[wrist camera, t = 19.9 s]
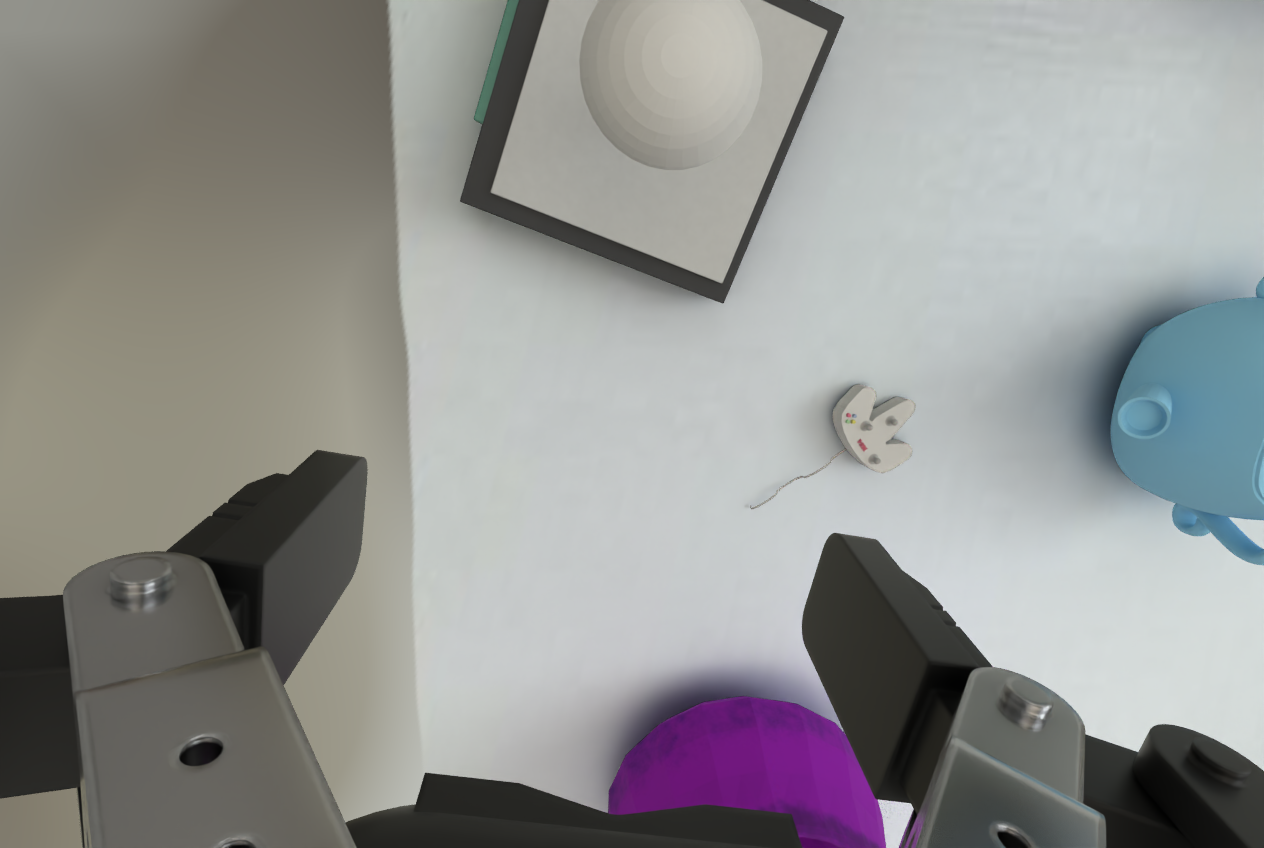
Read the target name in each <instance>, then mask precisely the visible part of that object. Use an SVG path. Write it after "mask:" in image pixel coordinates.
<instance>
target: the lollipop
mask: <svg viewBox="0 0 1264 848" xmlns="http://www.w3.org/2000/svg"><path fill="white" fill-rule="evenodd" d="M579 65H580V81H581V85H582V90H583V94H584V98H585V102H586V104H587V106H588V109H589V111H590V113H591V115H592V118H593V120H594V121H595V123H596V124H597V126H598V127H599V129H600V130H601V132H602V133H603V135H604V136H605V137H606V138H607V139H608V140H609V141H610V142H611V143H612V144H613V145H614V146H615V147H616V148H617V149H618V150H619V151H621V152H622V153H624V154H625V155H626V156H628V157H629V158H631V159H633V160H635V161H637V162H639V163H641V164H644V165H646V166H649V167H653V168H658V169H662V170H684V169H689V168H694V167H698V166H700V165H703V164H705V163H707V162H709V161H712V160H714V159H715V158H717V157H718V156H719V155H721V154H722V153H723V152H725V151H726V150H728V149H729V147H730V146H731V145H732V144H733V143H734V142H735V141H736V140H737V139H738V138H739V137H740V135H741V134H742V133H743V131H744V129H745V128H746V126H747V125H748V123H749V121H750V120H751V118H752V115H753V113H754V110H755V108H756V105H757V103H758V99H759V94H760V89H761V84H762V56H761V49H760V43H759V39H758V36H757V33H756V30H755V27H754V25H753V22H752V20H751V18H750V16H749V15H748V13H747V11H746V9H745V7H744V6H743V4H742V3H741V2H740V0H599V1H598V3H597V5H596V6H595V8H594V10H593V12H592V14H591V16H590V18H589V20H588V22H587V25H586V29H585V32H584V35H583V38H582V42H581V51H580V59H579Z"/></svg>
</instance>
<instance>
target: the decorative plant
mask: <svg viewBox="0 0 1264 848" xmlns="http://www.w3.org/2000/svg"><path fill="white" fill-rule="evenodd" d="M704 804H708V805H717V806H726V807H734V808H743V809H752V810H761V811H770V812H779V813H788V814H792V816H793V820H794V823H795V826H796V829H797V832H798V836H799V839H800V842H801V845H802V847H803V848H886V843H885V835H884V827H883V819H882V814H881V811H880V807H879V804H878V800H877V799H875V797H874V795H873V793H872V791H871V789H870V786H869V784H868V782H867V780H866V778H865V776H864V773H863V771H862V769H861V767H860V765H859V762H858V760H857V758H856V756H855V754H854V752H853V749H852V747H851V745H850V743H849V741H848V738H847V736H846V735H845V734H844V732H843V731H842V730H841V729H840V728H839V727H838V726H837V725H836V723H834V722H832V721H830V720H828V719H826V718H824V717H822V716H820V715H818V714H816V713H814V712H812V711H810V710H808V709H806V708H804V707H802V706H800V705H798V704H795V703H789V702H783V701H776V700H769V699H761V698H754V697H746V696H740V697H733V698H727V699H720V700H714V701H707V702H702V703H700V704H698V705H696V706H694V707H692V708H690V709H688V710H685V711H683V712H681V713H679V714H677V715H675V716H673V717H671V718H669V719H667V720H665V721H664V722H662V723H661V724H659V725H658V726H657V727H656V728H655V729H653V730H652V731H651V732H650V733H649V734H648V735H647V736H646V737H645V738H644V739H643V740H642V741H641V742H640V743H638V744H637V745H636V746H635V747H634V748H633V749H632V750H631V751H630V752H629V753H628V754H627V755H626V756H625V758H624V760H623V762H622V764H621V766H620V768H619V770H618V772H617V775H616V777H615V779H614V781H613V783H612V785H611V787H610V789H609V802H608V813H609V814H615V815H624V814H632V813H640V812H648V811H656V810H664V809H672V808H680V807H688V806H696V805H704Z"/></svg>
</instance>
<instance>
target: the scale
mask: <svg viewBox="0 0 1264 848" xmlns="http://www.w3.org/2000/svg"><path fill="white" fill-rule="evenodd" d="M598 1H599V0H508V2H507V5H506V9H505V12H504V16H503V19H502V23H501V26H500V30H499V33H498V37H497V40H496V43H495V47H494V50H493V54H492V57H491V61H490V64H489V68H488V71H487V75H486V78H485V81H484V85H483V88H482V92H481V95H480V99H479V102H478V106H477V109H476V113H475V116H474V120H475V121H477V122H478V123H480V124H482V128H481V131H480V135H479V138H478V141H477V145H476V148H475V152H474V155H473V158H472V162H471V165H470V169H469V172H468V176H467V179H466V182H465V186H464V189H463V193H462V196H461V199H460V201H461V202H463V203H465V204H468V205H471V206H473V207H476V208H478V209H481V210H483V211H486V212H489V213H491V214H494V215H496V216H499V217H501V218H504V219H507V220H509V221H512V222H514V223H517V224H520V225H522V226H525V227H527V228H530V229H532V230H535V231H538V232H540V233H543V234H545V235H548V236H550V237H553V238H556V239H558V240H561V241H563V242H566V243H568V244H571V245H574V246H576V247H579V248H581V249H584V250H586V251H589V252H592V253H594V254H597V255H599V256H602V257H604V258H607V259H610V260H612V261H615V262H617V263H620V264H623V265H625V266H628V267H630V268H633V269H635V270H638V271H641V272H643V273H646V274H648V275H651V276H653V277H656V278H659V279H661V280H664V281H666V282H669V283H671V284H674V285H677V286H679V287H682V288H684V289H687V290H689V291H692V292H695V293H697V294H700V295H702V296H705V297H707V298H710V299H713V300H715V301H718V302H720V303H724V301H725V299H726V296H727V294H728V292H729V289H730V287H731V285H732V282H733V280H734V277H735V275H736V273H737V270H738V268H739V266H740V263H741V261H742V258H743V256H744V254H745V251H746V249H747V247H748V244H749V242H750V239H751V237H752V235H753V232H754V230H755V228H756V225H757V223H758V221H759V218H760V216H761V213H762V211H763V209H764V206H765V204H766V202H767V199H768V197H769V194H770V192H771V190H772V187H773V185H774V183H775V180H776V178H777V175H778V173H779V171H780V168H781V166H782V164H783V161H784V159H785V156H786V154H787V152H788V149H789V147H790V145H791V142H792V140H793V138H794V135H795V133H796V130H797V128H798V126H799V123H800V121H801V119H802V116H803V114H804V111H805V109H806V107H807V104H808V102H809V100H810V97H811V95H812V92H813V90H814V88H815V85H816V83H817V81H818V78H819V76H820V73H821V71H822V69H823V66H824V64H825V62H826V59H827V57H828V55H829V52H830V50H831V47H832V45H833V43H834V40H835V38H836V36H837V33H838V31H839V28H840V26H841V24H842V21H843V19H844V17H843V16H842V15H839V14H837V13H835V12H833V11H831V10H829V9H827V8H825V7H823V6H820V5H818V4H816V3H814V2H812V1H810V0H740V2H741V3H742V4H743V6H744V7H745V9H746V11H747V13H748V15H749V16H750V18H751V20H752V22H753V25H754V27H755V30H756V33H757V36H758V39H759V43H760V49H761V56H762V84H761V89H760V94H759V99H758V103H757V105H756V108H755V110H754V113H753V115H752V118H751V120H750V121H749V123H748V125H747V126H746V128H745V129H744V131H743V133H742V134H741V135H740V137H739V138H738V139H737V140H736V141H735V142H734V143H733V144H732V145H731V146H730V147H729V149H728V150H726V151H725V152H723V153H722V154H721V155H719V156H718V157H717V158H715V159H714V160H712V161H709V162H707V163H705V164H703V165H700V166H698V167H694V168H689V169H684V170H662V169H658V168H653V167H649V166H646V165H644V164H641V163H639V162H637V161H635V160H633V159H631V158H629V157H628V156H626V155H625V154H624V153H622V152H621V151H619V150H618V149H617V148H616V147H615V146H614V145H613V144H612V143H611V142H610V141H609V140H608V139H607V138H606V137H605V136H604V135H603V133H602V132H601V130H600V129H599V127H598V126H597V124H596V123H595V121H594V120H593V118H592V115H591V113H590V111H589V109H588V106H587V104H586V102H585V98H584V94H583V90H582V85H581V81H580V65H579V59H580V51H581V42H582V38H583V35H584V32H585V29H586V25H587V22H588V20H589V18H590V16H591V14H592V12H593V10H594V8H595V6H596V5H597V3H598Z"/></svg>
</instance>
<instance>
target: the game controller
mask: <svg viewBox="0 0 1264 848" xmlns="http://www.w3.org/2000/svg"><path fill="white" fill-rule="evenodd" d="M875 400H876V392H875V390H874V389H873V388H871V387H867V386H864V385H860V384H857V385H854V386H853V387H852V388H851V389H850V390H849V391H848V392H847V393H846V394H845V395H844V396H843V397H842V398H841V399H840V400H839V402H838V403H837V405H836V406H835V408H834V410H833V422H834V427H835V429H836V432H837V434H838V436H839V438H840V440H841V442H842V443H843V445H844V446H845V448H846V449H844V450H842V451H841V452H839V453H838V454H836V455H835V456H833V457H832V458H831V459H830V461H829V463H827V464H826V465H825V466H823V467H822V468H820V469H819V470H817V471H816V472H814V473H812V474H810V475H808V476H805V477H804V478H807V477H809V476H812V475H814V474H815V473H817V472H819V471H820V470H822V469H823V468H825V467H826V466H828V465H829V464H830V463H831V461H832V460H833V459H834V458H835V457H836V456H838V455H839V454H841V453H842V452H844V451H845V450H848V452H849V453H850V454H851V455H852V456H853V457H854V458H855V459H856V460H857V461H858V462H859V463H861V464H863V465H864V466H866V467H868V468H870V469H872V470H874V471H876V472H879V473H885V472H888V471H891V470H892V469H894V468H896V467H897V466H899V465H900V464H902V463H903V462H905V461H907V460H908V459H909V458H910V457H911V455H912V448H911V446H910V445H909V444H907V443H904V442H902V441H899V440H896V439H891V438H892V437H893V436H894V435H895V434H896V433H897V432H898V430H899V429H900V428H901V427H902V426H903V425H904V424H905V422H906V421H907V420H908V419H909V418H910V417H911V416H912V414H913V413H914V411H915V403H914V402H913V401H912V400H908V399H905V398H901V397H895V398H892V399H890V400H889V401H887V402H885V403H884V404H882V405H880V406H878V407H877V408H875V409H873V406H874V403H875ZM872 409H873V410H872ZM802 477H803V476H800V477H797V478H795V479H793V480H792V481H790V482H788V483H786V484H785V485H783V486H782V487H781V488H779V489H778V490H777V491H776V493H775V494H774V495H773V496H772V497H771V498H769V499H768V500H766V501H765V502H763V503H761V504H759V505H757V506H755V507H753V508H751V505H750V508H751V509H755V508H757V507H759V506H761V505H763V504H764V503H766V502H768V501H769V500H771V499H772V498H773V497H775V496H776V495H777V493H778V492H779V491H780V490H781V489H782V488H783V487H785V486H786V485H788V484H790V483H791V482H793V481H795V480H797V479H799V478H802Z"/></svg>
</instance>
